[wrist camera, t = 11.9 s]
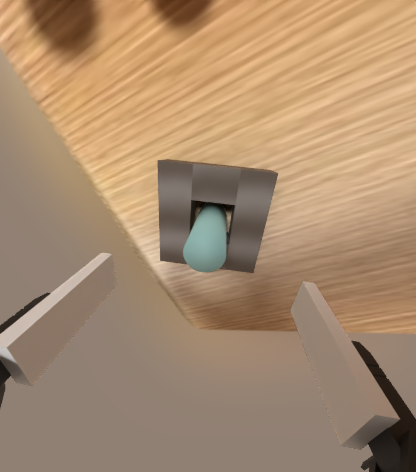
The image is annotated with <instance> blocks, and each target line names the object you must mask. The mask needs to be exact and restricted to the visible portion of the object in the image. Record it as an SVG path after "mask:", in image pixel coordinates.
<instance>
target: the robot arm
mask: <svg viewBox="0 0 416 472" xmlns="http://www.w3.org/2000/svg"><path fill="white" fill-rule="evenodd" d="M116 285H117V279H116V274H115V268H114V262H113V257H112V254H108V253H101V254H99V255H98V256H97V257H96V258H95V259H93V260H92V261H91V262H89V263H88V264H87V265H86V266H85V267H83V268H82V269H81V270H80V271H78V272H77V273H76V274H75V275H73V276H72V277H71V278H70V279H68V280H67V281H66V282H65V283H63V284H62V285H61V286H60V287H58V288H57V289H56V290H55V291H53V292H52V293H46V294H44V295H42V296H40V297H38V298H36V299H34V300H33V301H32V302H30V303H29V304H28V305H26V306H25V307H24V309H21V310H20V311H19V312H17V313H16V314H15V316H12V317H11V318H9V319H8V320H7V321H6V322H4V323H3V324H2V325H0V407H1V403H2V400H3V396H4V392H5V383H4V382H5V381H6V380H7V379H8V378H9V377H10V376H12V378H13V379H14V381H15V382H16V383H20V384H24V385H30V386H33V385H34V383H35V382H36V381H37V380H38V379H39V377H40V376H41V375H42V374H43V373H44V371H45V370H46V369H47V368H48V367H49V365H50V364H51V363H52V362H53V361H54V359H55V358H56V357H57V356H58V355H59V353H60V352H61V351H62V350H63V349H64V347H65V346H66V345H67V344H68V343H69V342H70V340H71V339H72V338H73V337H74V336H75V334H76V333H77V332H78V331H79V330H80V328H81V327H82V326H83V325H84V324H85V322H86V321H87V320H88V319H89V318H90V316H91V315H92V314H93V313H94V312H95V310H96V309H97V308H98V307H99V306H100V304H101V303H102V302H103V301H104V300H105V299H106V297H107V296H108V295H109V294H110V293H111V291H112V290H113V289H114V288H115V287H116ZM290 312H291V314H292V317H293V320H294V322H295V325H296V328H297V330H298V333H299V336H300V339H301V341H302V344H303V347H304V349H305V352H306V355H307V357H308V360H309V363H310V365H311V368H312V371H313V374H314V376H315V378H316V381H317V384H318V387H319V389H320V392H321V395H322V398H323V400H324V403H325V406H326V409H327V411H328V414H329V417H330V419H331V422H332V424H333V427H334V430H335V433H336V436H337V438H338V441H339V443H340V446H343V447H348V448H354V449H359V450H361V449H362V448H364V447H365V446H366V445H367V444H368V445H369V447H370V449H371V451H372V453H373V456H371V457H370V458H368V459H367V460H366V461H364V462H363V464H362V466H361V468H362V469H363V470H366V469H367V468H369V472H416V419H415V417H414V416H413V414H412V413H411V411H410V410H409V408H408V407H407V406H406V404H405V403H404V401H403V400H402V398H401V397H400V395H399V394H398V393H397V391H396V390H395V388H394V387H393V386H392V384H391V382H390V381H389V379H387V378H386V375H385V374H384V372H383V371H382V369H381V368H379V365H378V363H377V362H376V360H375V359H374V358H373V356H372V355H371V353H370V352H369V351H368V350H366V348H364V346H363V345H361V344H360V343H359V342H355V341H351V340H350V339H349V337H348V336H347V334H346V332H345V331H344V329H343V328H342V326H341V324H340V323H339V321H338V320H337V318H336V316H335V315H334V313H333V312H332V310H331V309H330V307H329V305H328V304H327V302H326V301H325V299H324V297H323V296H322V294H321V293H320V291H319V289H318V288H317V286H316V285H315V283H311V282H304V281H302V284H301V286H300V288H299V291H298V293H297V296H296V298H295V300H294V303H293V305H292V308H291V310H290Z"/></svg>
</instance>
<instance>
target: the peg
mask: <svg viewBox="0 0 416 472" xmlns="http://www.w3.org/2000/svg"><path fill="white" fill-rule="evenodd" d="M183 256H184V259H185V261H186V263H187V264H188V265H189V266H190V267H191V268H193V269H194V270H197V271H200V272H212V271H215V270H217V269H219V268H220V267H221V266H222V265H223V264H224V262H225V260H226V209H225V207H224V206H223V205H222V204H221V203H213V202H207V203H205V204H204V205H203V206H202V208H201V210H200V212H199V215H198V217H197V219H196V221H195V224H194V226H193V228H192V230H191V232H190V235H189V237H188V239H187V241H186V244H185V246H184V249H183Z"/></svg>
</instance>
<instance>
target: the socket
mask: <svg viewBox="0 0 416 472" xmlns="http://www.w3.org/2000/svg"><path fill="white" fill-rule="evenodd" d="M277 176H278V173H276V172H274V171H271V170H264V169H255V168H245V167H236V166H226V165H217V164H207V163H198V162H188V161H179V160H169V159H166V160H158V194H159V229H160V261H166V262H174V263H182V264H187V263H186V261H185V259H184V256H183V249H184V246H185V244H186V241H187V239H188V237H189V235H190V232H191V230H192V228H193V226H194V217H195V201H204V202H213V203H222V204H231V205H233V208H232V215H231V221H230V227H229V233H228V232H226V260H225V262H224V264H223V265H222V266H221V267H220V269H227V270H235V271H243V272H250V273H253V272H254V268H255V264H256V260H257V256H258V252H259V248H260V244H261V240H262V236H263V232H264V228H265V224H266V220H267V216H268V212H269V208H270V204H271V200H272V196H273V192H274V188H275V184H276V180H277Z"/></svg>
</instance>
